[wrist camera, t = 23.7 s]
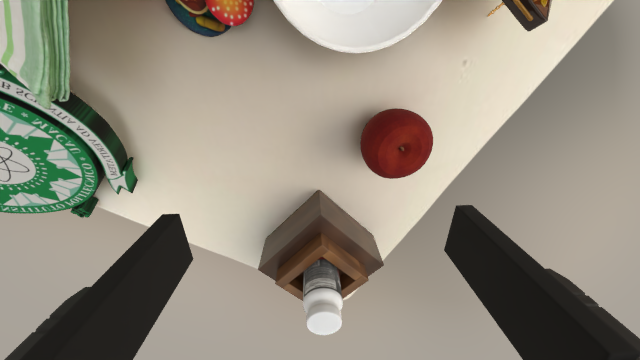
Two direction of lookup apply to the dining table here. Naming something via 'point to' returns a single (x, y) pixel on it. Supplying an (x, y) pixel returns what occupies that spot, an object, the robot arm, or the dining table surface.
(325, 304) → the pill bottle
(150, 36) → the dining table surface
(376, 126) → the apple
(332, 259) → the socket stand
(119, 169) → the emblem
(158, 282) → the robot arm
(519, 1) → the walkie talkie
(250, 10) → the figurine
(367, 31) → the bowl
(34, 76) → the dish towel
